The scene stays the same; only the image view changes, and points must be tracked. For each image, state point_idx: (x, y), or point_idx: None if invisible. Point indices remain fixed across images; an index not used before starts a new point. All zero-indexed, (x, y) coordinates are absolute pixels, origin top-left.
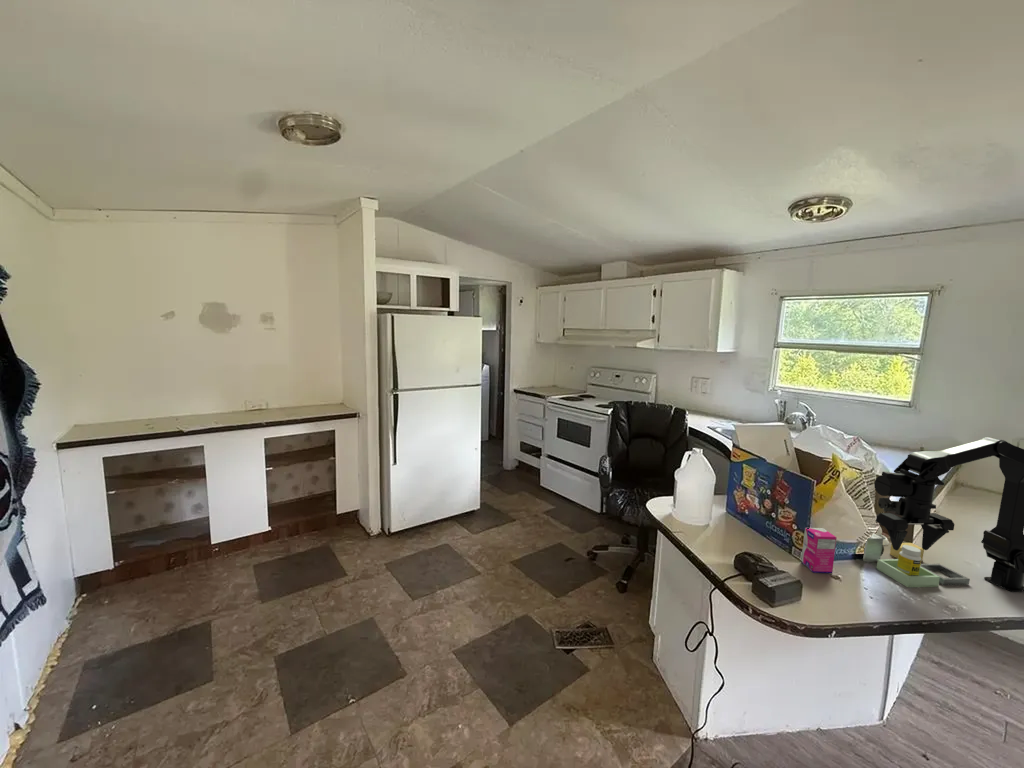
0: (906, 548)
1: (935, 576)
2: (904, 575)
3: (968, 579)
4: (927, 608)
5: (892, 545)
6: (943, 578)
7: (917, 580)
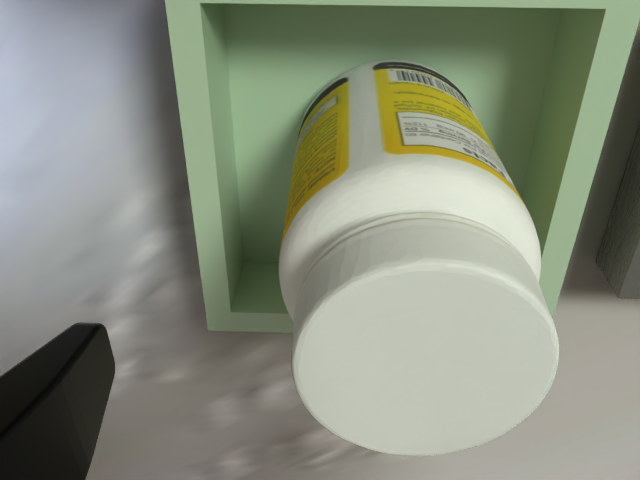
0: (312, 371)
1: None
2: (205, 286)
3: None
4: (142, 440)
5: (30, 362)
6: (634, 287)
7: None
